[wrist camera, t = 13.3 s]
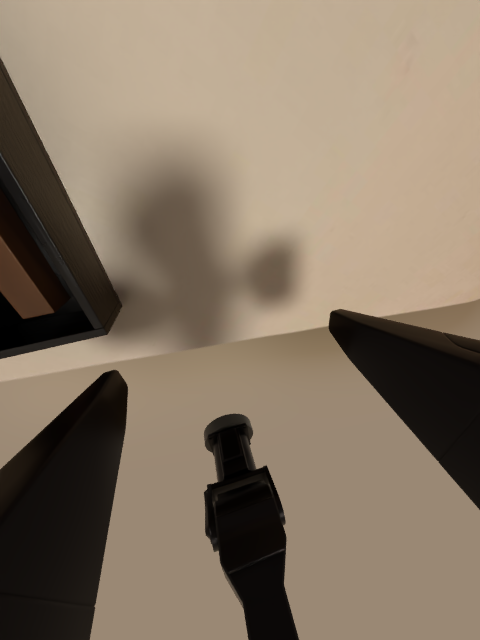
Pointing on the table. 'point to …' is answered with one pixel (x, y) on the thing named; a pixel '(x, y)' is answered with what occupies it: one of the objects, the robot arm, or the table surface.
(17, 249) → the red pad with bar
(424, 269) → the table surface
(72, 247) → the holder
